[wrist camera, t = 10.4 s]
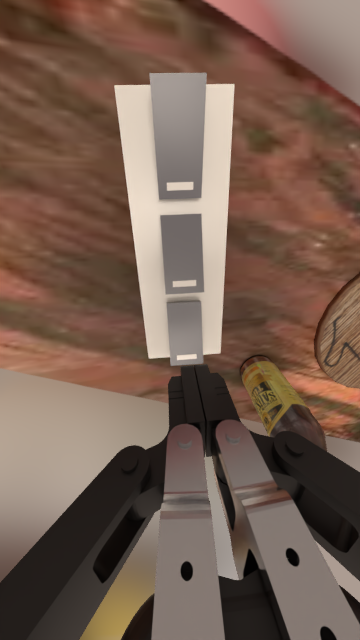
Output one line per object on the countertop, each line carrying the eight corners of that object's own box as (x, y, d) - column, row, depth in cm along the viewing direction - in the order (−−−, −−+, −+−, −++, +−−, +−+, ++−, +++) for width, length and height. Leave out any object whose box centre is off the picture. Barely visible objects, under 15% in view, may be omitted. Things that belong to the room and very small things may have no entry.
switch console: (125, 116, 21) (114, 85, 16) (222, 115, 21) (237, 84, 17) (151, 340, 32) (148, 358, 28) (214, 335, 33) (222, 353, 28)
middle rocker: (160, 221, 21) (160, 214, 19) (198, 219, 21) (201, 213, 19) (165, 294, 22) (165, 294, 20) (201, 291, 22) (204, 292, 21)
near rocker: (150, 80, 15) (149, 72, 14) (202, 79, 15) (206, 72, 14) (159, 196, 20) (159, 199, 19) (198, 195, 20) (201, 198, 19)
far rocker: (166, 302, 25) (166, 303, 23) (198, 300, 25) (201, 301, 23) (170, 359, 26) (170, 366, 24) (200, 357, 26) (203, 363, 24)
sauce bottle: (243, 352, 34) (330, 489, 16) (277, 355, 35) (396, 488, 17) (234, 382, 37) (300, 528, 19) (266, 384, 38) (359, 526, 20)
